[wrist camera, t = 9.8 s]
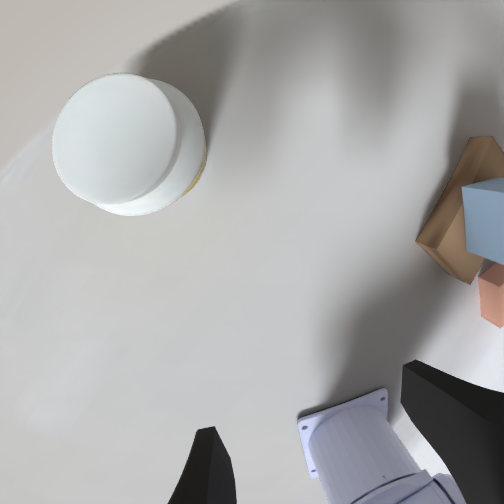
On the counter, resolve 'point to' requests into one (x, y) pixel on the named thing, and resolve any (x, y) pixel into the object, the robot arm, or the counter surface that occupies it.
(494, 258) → the blue brick
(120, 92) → the supplement bottle
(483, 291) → the brick
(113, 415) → the counter surface
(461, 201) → the base brick
